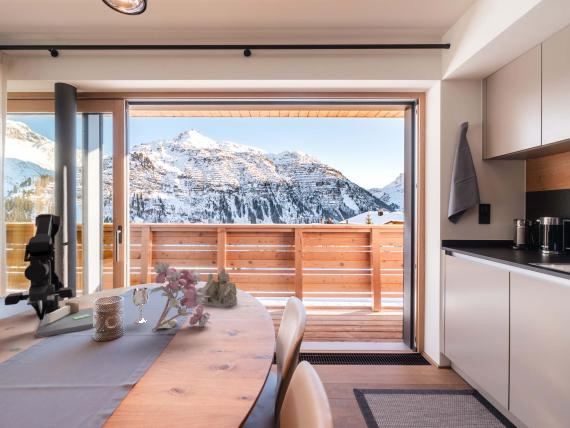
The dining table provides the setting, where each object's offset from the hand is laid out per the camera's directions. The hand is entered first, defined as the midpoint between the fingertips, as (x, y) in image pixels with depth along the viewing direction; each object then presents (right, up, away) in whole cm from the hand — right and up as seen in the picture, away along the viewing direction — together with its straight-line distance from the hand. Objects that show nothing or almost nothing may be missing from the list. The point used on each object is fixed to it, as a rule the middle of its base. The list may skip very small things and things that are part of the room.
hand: (41, 319), depth 111 cm
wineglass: (+32, -3, +6) cm, 33 cm away
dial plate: (+6, -3, +5) cm, 8 cm away
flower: (+51, -3, +1) cm, 51 cm away
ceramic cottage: (+57, -3, +30) cm, 64 cm away
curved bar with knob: (+3, -1, +7) cm, 8 cm away
